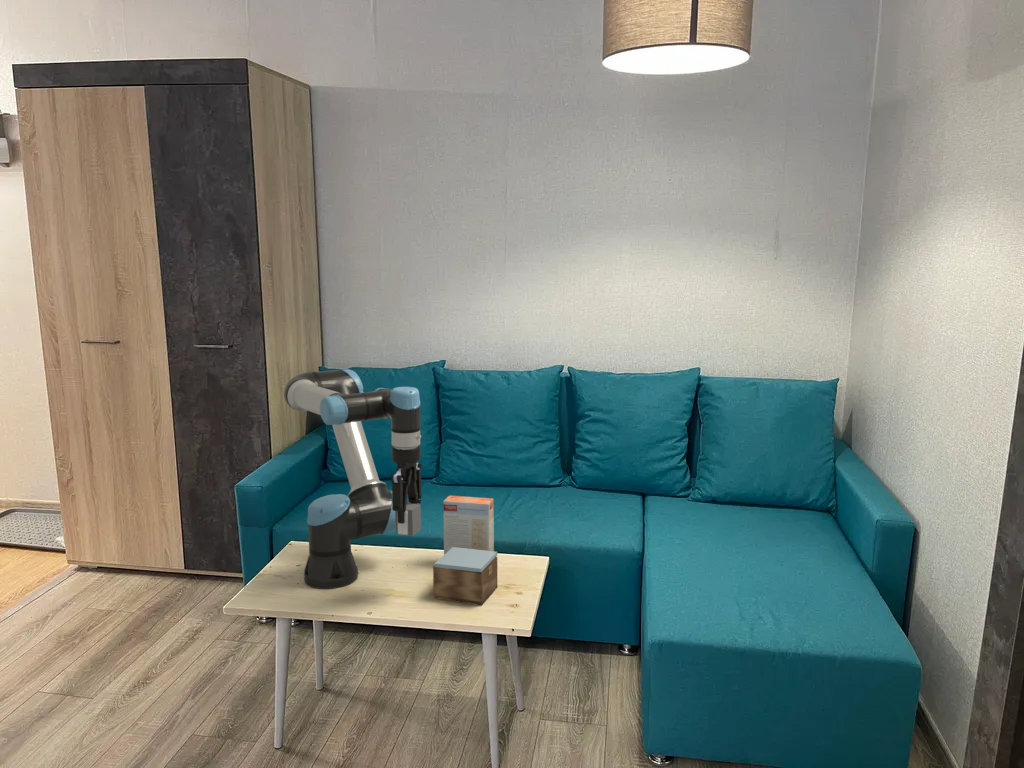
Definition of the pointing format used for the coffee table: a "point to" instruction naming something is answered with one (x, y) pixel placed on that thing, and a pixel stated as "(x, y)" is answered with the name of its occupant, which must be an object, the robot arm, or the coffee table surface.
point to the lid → (466, 559)
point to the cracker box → (468, 523)
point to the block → (412, 518)
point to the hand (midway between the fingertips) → (407, 530)
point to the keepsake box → (465, 584)
